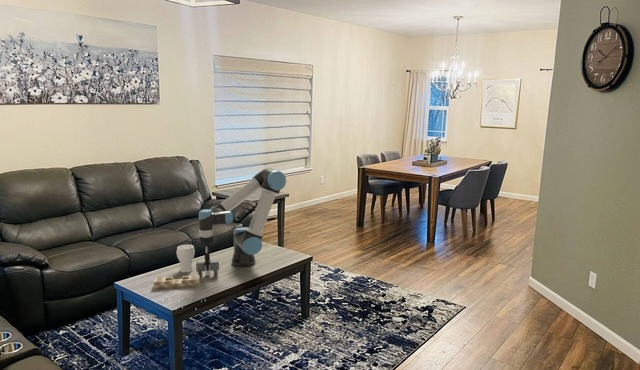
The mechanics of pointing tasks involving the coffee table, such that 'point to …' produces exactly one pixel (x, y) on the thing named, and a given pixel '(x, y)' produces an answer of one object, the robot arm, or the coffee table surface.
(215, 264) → the grey block
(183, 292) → the coffee table surface
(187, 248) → the cup
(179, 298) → the coffee table surface
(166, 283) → the rail
